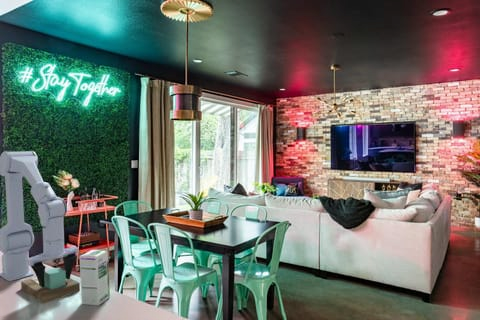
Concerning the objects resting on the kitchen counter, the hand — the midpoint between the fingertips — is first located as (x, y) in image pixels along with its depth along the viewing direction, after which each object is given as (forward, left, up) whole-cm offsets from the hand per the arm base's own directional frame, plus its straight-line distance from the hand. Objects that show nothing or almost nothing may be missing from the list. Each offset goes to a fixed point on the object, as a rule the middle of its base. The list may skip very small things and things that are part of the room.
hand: (55, 282), depth 111 cm
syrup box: (+15, +5, -4) cm, 16 cm away
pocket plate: (-3, 0, -3) cm, 5 cm away
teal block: (0, 0, -3) cm, 3 cm away
